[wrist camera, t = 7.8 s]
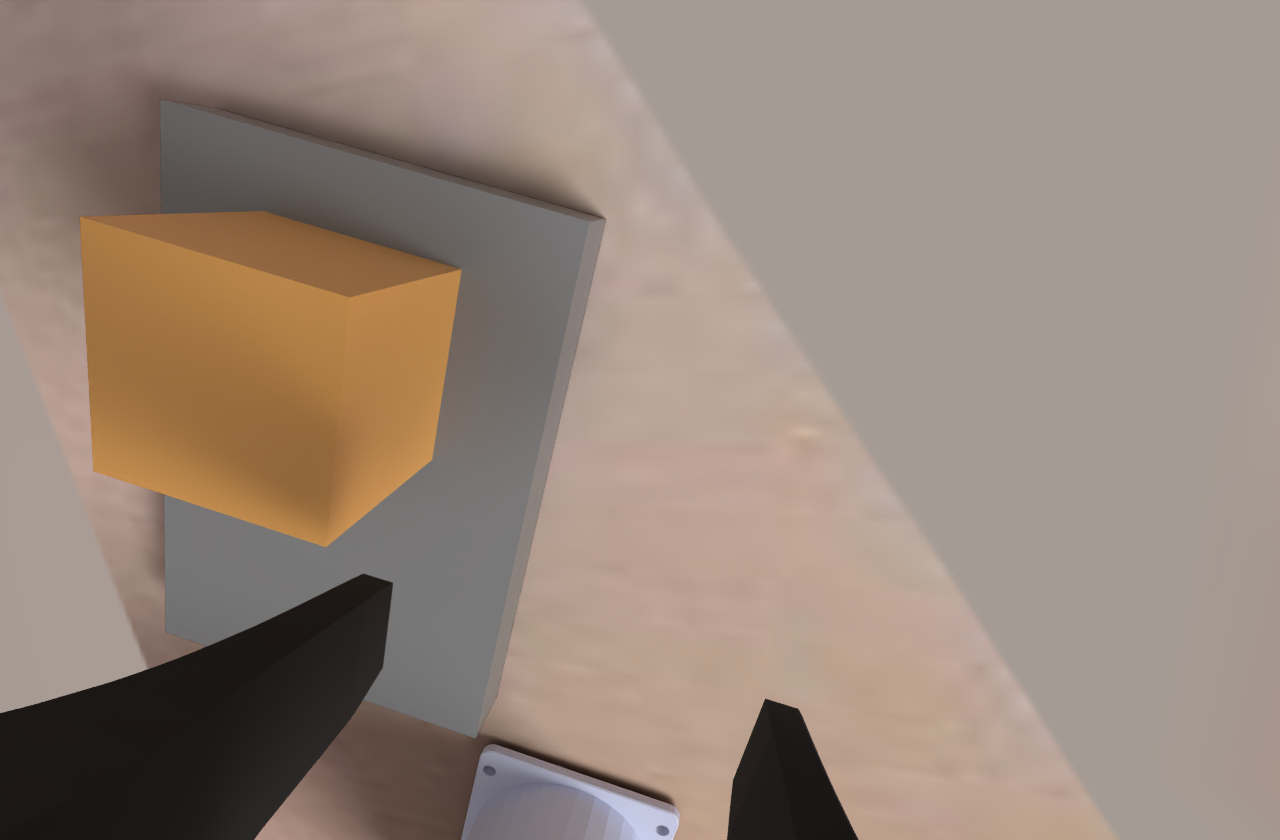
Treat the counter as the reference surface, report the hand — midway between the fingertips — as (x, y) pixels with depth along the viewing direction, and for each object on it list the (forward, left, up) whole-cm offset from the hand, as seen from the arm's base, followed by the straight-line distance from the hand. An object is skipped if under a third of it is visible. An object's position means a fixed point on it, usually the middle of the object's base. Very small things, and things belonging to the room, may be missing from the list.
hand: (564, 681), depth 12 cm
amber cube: (+2, +9, -7) cm, 12 cm away
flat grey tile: (-2, +9, -9) cm, 13 cm away
